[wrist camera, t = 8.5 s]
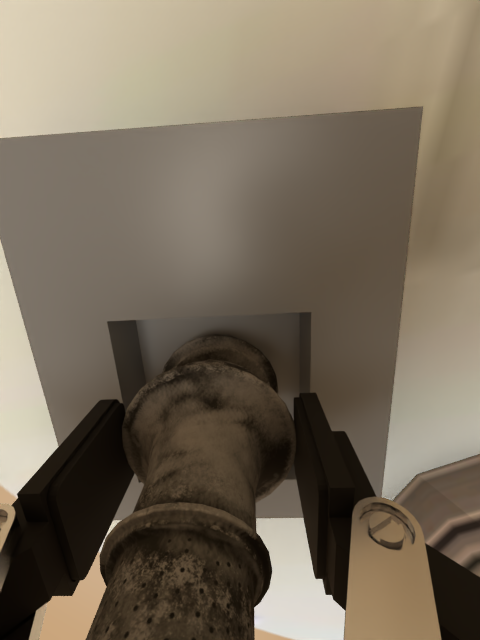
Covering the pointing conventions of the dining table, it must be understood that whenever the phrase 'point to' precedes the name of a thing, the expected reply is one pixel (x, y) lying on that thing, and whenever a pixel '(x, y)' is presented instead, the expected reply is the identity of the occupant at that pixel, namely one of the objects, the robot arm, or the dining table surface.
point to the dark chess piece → (197, 497)
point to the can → (448, 509)
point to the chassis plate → (217, 261)
